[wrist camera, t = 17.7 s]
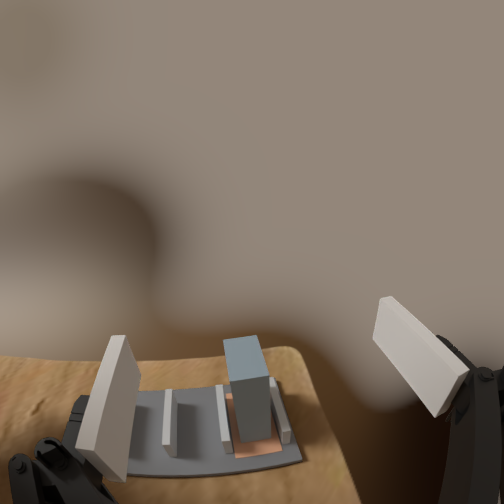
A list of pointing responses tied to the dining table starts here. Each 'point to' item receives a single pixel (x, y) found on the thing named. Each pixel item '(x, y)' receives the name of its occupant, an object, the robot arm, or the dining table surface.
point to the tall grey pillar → (249, 387)
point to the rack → (204, 435)
